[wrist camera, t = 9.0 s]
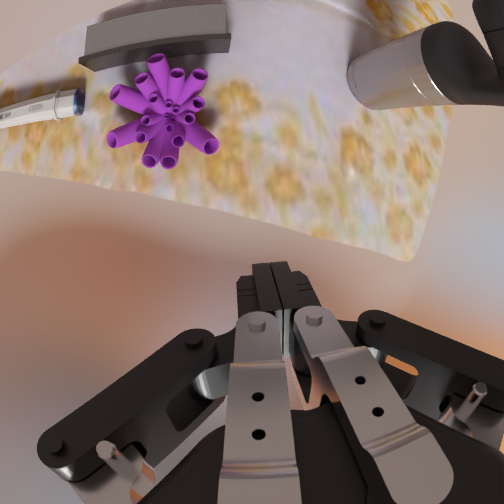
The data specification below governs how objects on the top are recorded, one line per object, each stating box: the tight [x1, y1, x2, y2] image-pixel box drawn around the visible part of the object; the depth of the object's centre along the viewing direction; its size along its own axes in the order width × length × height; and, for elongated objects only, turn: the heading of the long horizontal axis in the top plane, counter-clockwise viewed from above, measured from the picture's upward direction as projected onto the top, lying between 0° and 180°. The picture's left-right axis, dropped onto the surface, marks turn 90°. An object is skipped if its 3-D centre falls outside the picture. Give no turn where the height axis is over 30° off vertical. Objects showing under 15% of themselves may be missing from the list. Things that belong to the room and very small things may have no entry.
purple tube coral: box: [107, 53, 219, 169], centre depth 29 cm, size 11×15×10 cm
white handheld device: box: [0, 88, 85, 129], centre depth 27 cm, size 5×7×25 cm
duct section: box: [79, 4, 231, 72], centre depth 26 cm, size 19×6×6 cm, turn 92°
